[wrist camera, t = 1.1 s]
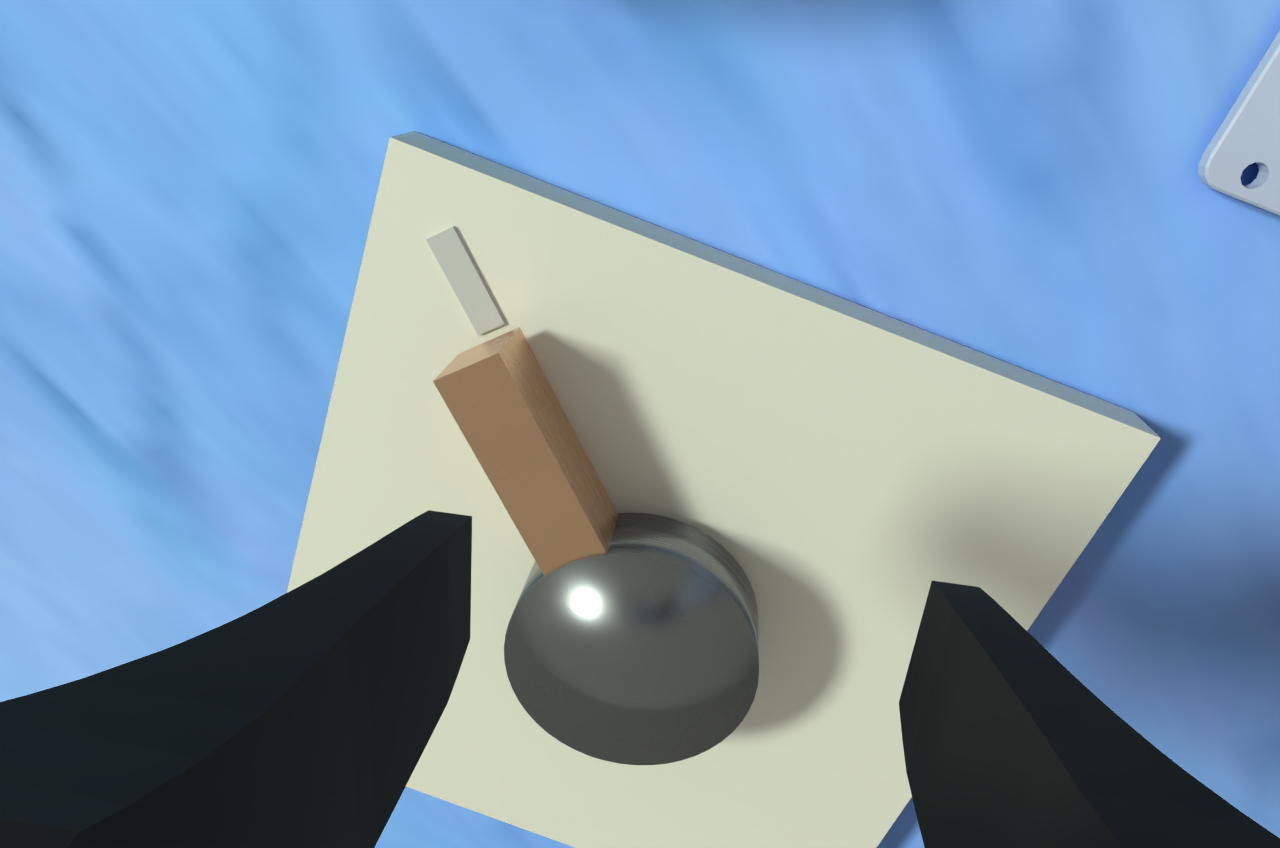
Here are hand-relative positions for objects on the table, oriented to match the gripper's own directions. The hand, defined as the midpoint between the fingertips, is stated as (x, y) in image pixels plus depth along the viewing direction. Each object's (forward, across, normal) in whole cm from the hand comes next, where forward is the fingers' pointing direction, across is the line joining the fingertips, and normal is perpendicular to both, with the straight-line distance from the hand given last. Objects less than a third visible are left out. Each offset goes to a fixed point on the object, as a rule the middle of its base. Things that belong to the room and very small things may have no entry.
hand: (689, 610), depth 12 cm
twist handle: (+9, +2, +4) cm, 10 cm away
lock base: (+10, +1, +6) cm, 12 cm away
